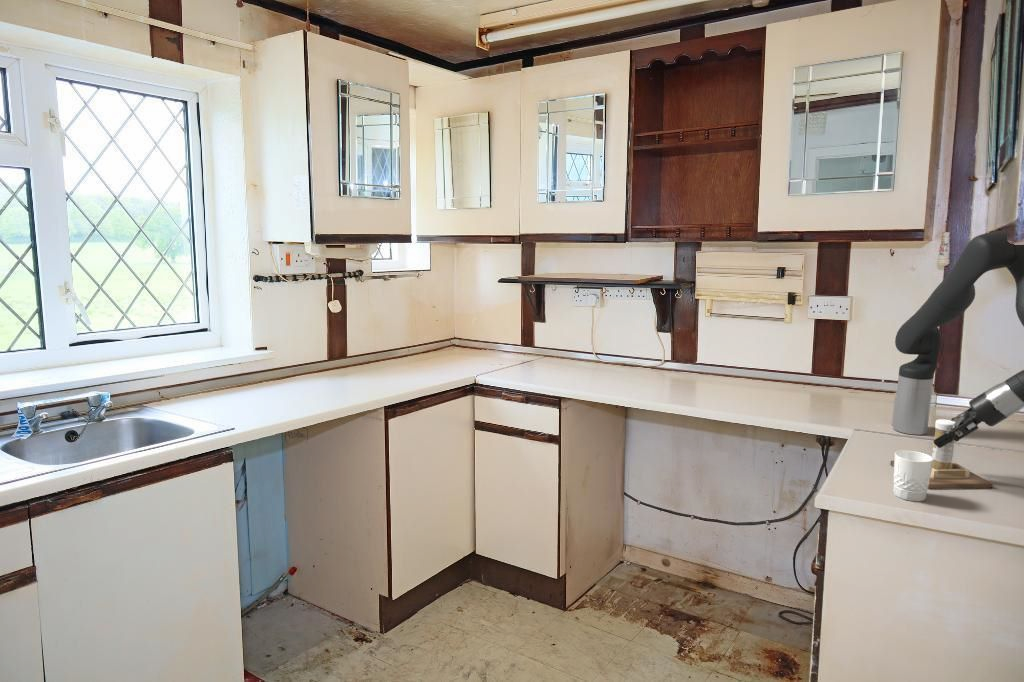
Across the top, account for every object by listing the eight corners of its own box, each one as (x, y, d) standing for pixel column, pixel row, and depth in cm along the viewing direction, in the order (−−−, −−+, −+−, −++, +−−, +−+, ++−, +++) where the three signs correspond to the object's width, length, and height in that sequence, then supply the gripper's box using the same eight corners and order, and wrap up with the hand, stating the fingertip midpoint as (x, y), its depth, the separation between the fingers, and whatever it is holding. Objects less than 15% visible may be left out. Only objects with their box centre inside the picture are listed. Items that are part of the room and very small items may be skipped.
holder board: (890, 465, 183) (891, 453, 182) (949, 464, 183) (950, 453, 183) (927, 488, 167) (929, 476, 166) (992, 488, 167) (993, 475, 167)
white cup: (882, 491, 166) (887, 451, 164) (910, 488, 168) (914, 449, 166) (908, 504, 158) (912, 463, 156) (936, 501, 160) (941, 460, 158)
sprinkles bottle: (932, 467, 178) (938, 417, 175) (952, 471, 175) (959, 421, 172) (927, 472, 174) (933, 421, 172) (948, 476, 171) (954, 425, 169)
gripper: (985, 385, 172) (927, 421, 181) (985, 397, 161) (923, 435, 169) (1009, 409, 170) (949, 444, 179) (1010, 423, 159) (946, 460, 167)
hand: (936, 440), depth 174 cm, fingers open, 8 cm apart
